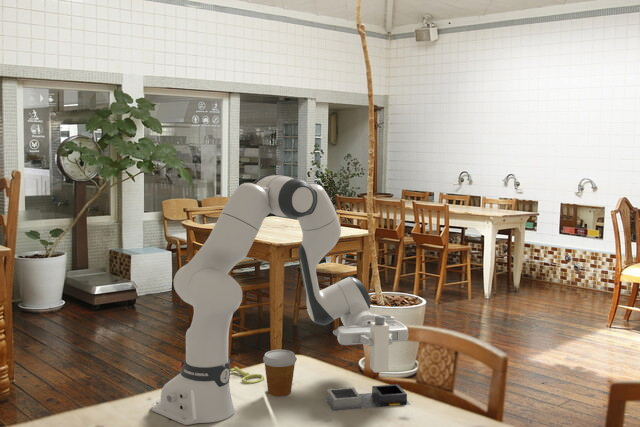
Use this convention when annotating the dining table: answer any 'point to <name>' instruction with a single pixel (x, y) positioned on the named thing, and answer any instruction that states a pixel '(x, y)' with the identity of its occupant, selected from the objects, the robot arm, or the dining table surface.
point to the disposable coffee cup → (279, 371)
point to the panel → (366, 397)
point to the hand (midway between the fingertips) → (380, 342)
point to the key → (248, 376)
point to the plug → (379, 345)
